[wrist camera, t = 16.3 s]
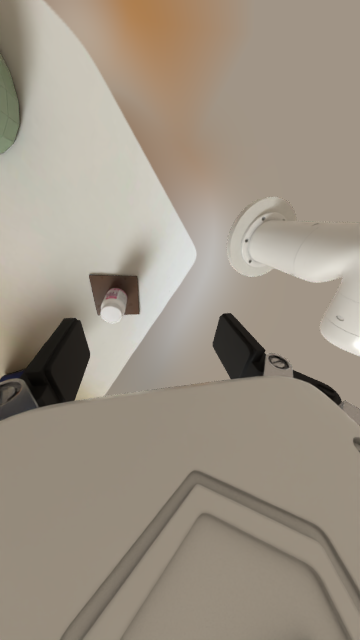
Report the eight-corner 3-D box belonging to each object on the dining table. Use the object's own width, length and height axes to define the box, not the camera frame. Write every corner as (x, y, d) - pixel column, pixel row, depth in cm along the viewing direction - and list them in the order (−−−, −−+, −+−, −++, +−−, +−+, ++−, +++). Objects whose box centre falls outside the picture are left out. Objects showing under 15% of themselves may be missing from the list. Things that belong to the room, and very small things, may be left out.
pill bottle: (118, 283, 36) (112, 299, 29) (131, 299, 39) (129, 317, 32) (101, 294, 36) (92, 312, 30) (115, 309, 39) (110, 329, 32)
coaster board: (137, 276, 36) (137, 276, 36) (139, 313, 42) (139, 314, 41) (89, 274, 34) (88, 275, 34) (98, 314, 39) (97, 315, 39)
